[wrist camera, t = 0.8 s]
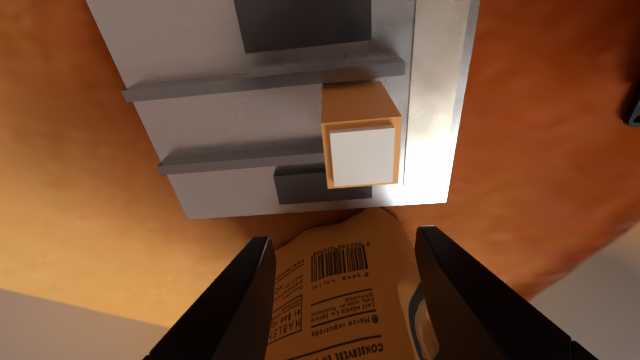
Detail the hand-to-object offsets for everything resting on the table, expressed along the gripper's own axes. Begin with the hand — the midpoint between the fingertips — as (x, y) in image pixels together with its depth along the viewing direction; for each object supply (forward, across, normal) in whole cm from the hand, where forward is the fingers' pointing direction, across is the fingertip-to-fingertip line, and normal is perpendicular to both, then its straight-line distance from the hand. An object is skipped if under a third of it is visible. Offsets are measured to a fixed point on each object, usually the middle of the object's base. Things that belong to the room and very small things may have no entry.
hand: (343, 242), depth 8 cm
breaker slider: (+10, -1, 0) cm, 10 cm away
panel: (+12, +2, 0) cm, 12 cm away
